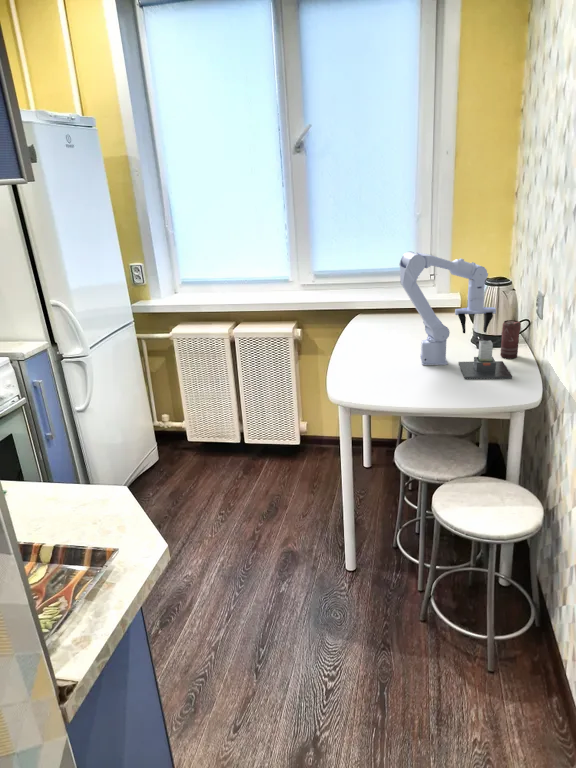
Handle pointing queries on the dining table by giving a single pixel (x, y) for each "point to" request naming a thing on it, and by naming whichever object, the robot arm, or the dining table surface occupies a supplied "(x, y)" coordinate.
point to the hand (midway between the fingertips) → (474, 332)
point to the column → (485, 351)
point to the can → (510, 339)
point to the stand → (484, 370)
